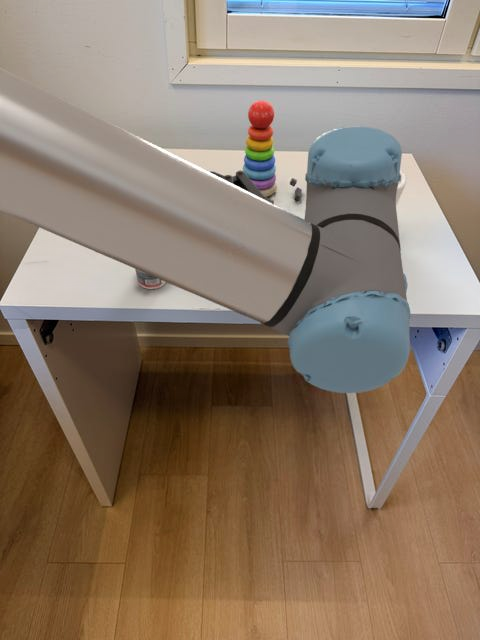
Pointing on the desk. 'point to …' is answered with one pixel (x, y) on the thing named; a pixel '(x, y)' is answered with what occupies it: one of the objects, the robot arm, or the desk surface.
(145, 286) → the pill bottle
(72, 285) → the desk surface
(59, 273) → the desk surface
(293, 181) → the building blocks
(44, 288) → the desk surface
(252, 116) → the stacking toy
